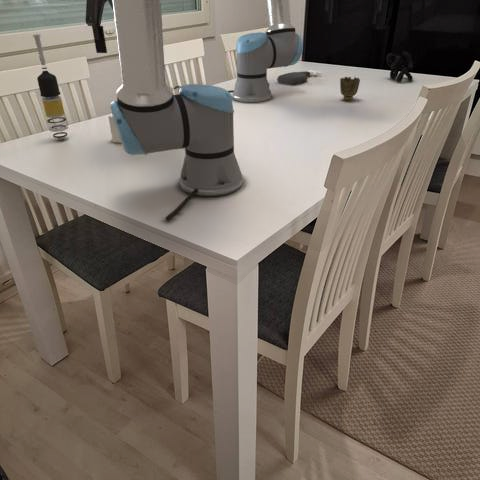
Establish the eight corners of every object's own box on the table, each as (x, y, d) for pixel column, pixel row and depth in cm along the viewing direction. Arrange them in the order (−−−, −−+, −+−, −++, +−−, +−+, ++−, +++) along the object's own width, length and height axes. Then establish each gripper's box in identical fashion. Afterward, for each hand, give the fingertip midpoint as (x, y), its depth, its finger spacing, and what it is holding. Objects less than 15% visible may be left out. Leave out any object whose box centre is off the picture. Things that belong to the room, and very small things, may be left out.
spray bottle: (274, 82, 200) (304, 73, 216) (295, 86, 194) (324, 76, 210) (275, 75, 198) (304, 67, 214) (295, 78, 192) (324, 70, 208)
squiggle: (400, 92, 202) (376, 71, 205) (417, 76, 202) (392, 56, 205) (405, 81, 191) (380, 59, 194) (423, 64, 191) (397, 42, 194)
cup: (335, 101, 172) (337, 79, 168) (341, 96, 178) (343, 75, 173) (354, 103, 169) (357, 81, 165) (359, 98, 175) (362, 77, 170)
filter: (71, 140, 139) (47, 35, 123) (52, 143, 137) (25, 36, 121) (69, 135, 143) (46, 33, 127) (51, 137, 141) (25, 34, 126)
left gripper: (88, -42, 102) (104, 57, 113) (134, -42, 123) (144, 42, 134) (58, -41, 104) (78, 56, 115) (109, -41, 124) (121, 41, 135)
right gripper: (405, -60, 127) (393, 22, 139) (319, -57, 135) (314, 21, 146) (404, -60, 121) (391, 25, 133) (313, -58, 129) (309, 24, 140)
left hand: (113, 48), depth 124 cm, fingers open, 13 cm apart
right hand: (351, 23), depth 139 cm, fingers open, 13 cm apart
